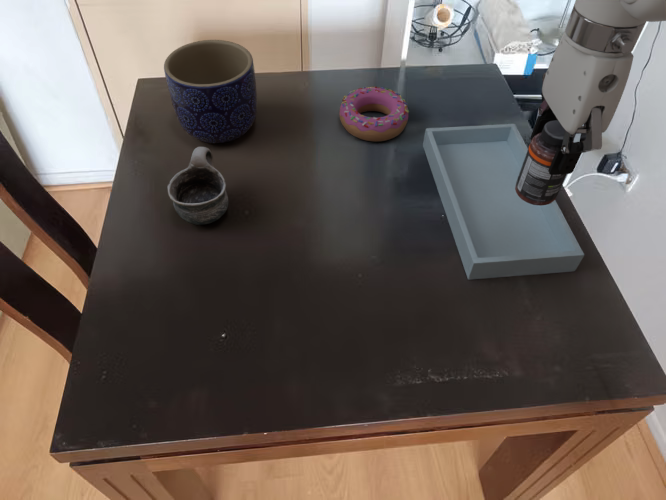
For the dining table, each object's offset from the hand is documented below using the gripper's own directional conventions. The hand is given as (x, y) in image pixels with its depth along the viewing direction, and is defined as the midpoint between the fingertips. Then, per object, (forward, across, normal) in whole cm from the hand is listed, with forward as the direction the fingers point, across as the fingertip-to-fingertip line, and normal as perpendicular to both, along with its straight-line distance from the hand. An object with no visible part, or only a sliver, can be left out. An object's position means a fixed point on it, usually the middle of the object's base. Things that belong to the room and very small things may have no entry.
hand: (550, 155), depth 72 cm
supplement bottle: (+7, 0, 0) cm, 7 cm away
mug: (+22, +17, +50) cm, 58 cm away
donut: (+22, +39, +16) cm, 48 cm away
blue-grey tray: (+22, +14, -2) cm, 26 cm away
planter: (+22, +40, +48) cm, 67 cm away
